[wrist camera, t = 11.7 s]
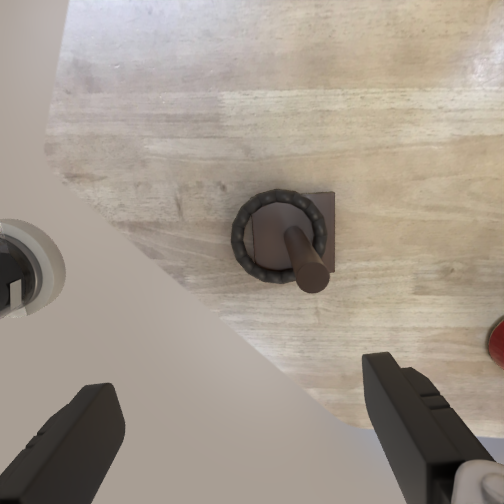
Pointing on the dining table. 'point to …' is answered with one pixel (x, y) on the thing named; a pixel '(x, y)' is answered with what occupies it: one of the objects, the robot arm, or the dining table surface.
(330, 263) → the peg stand
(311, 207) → the hoop
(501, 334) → the soda can
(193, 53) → the dining table surface
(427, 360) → the dining table surface
